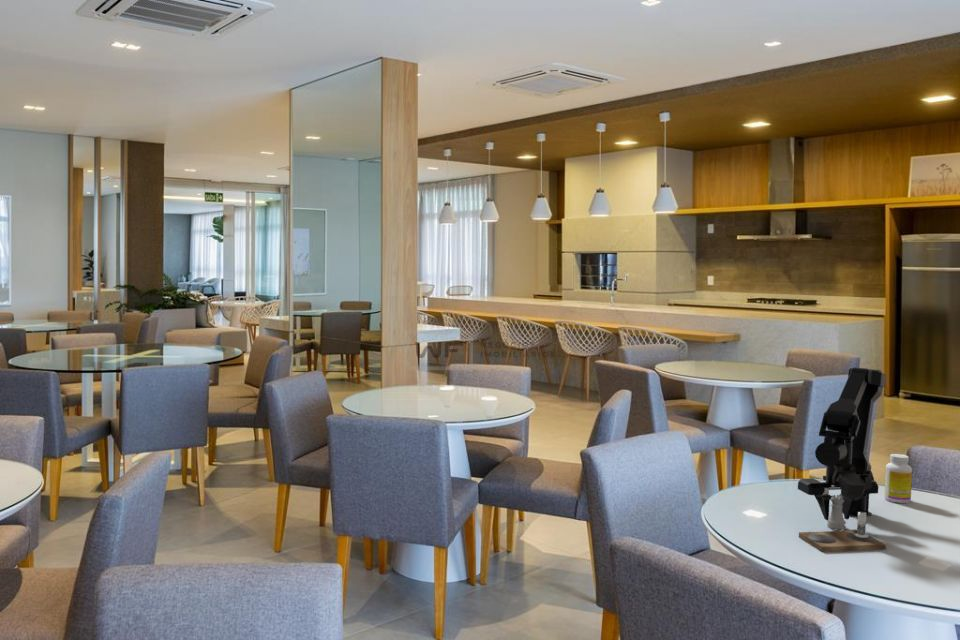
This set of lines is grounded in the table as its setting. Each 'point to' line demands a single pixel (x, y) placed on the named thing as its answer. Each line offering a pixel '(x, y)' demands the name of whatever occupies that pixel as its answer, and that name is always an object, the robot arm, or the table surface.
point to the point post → (861, 526)
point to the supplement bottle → (898, 479)
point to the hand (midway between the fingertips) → (836, 519)
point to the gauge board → (840, 541)
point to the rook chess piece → (836, 514)
